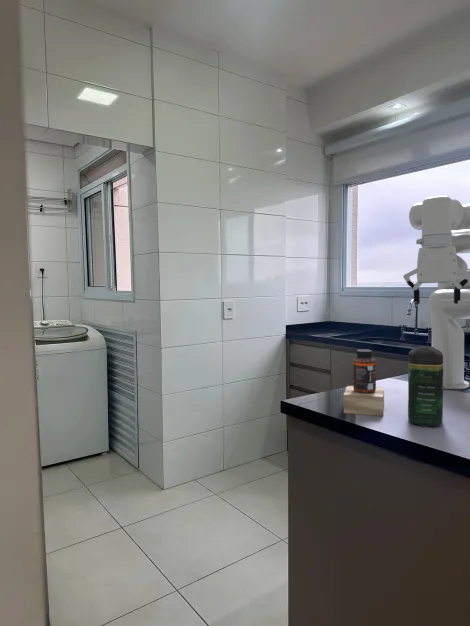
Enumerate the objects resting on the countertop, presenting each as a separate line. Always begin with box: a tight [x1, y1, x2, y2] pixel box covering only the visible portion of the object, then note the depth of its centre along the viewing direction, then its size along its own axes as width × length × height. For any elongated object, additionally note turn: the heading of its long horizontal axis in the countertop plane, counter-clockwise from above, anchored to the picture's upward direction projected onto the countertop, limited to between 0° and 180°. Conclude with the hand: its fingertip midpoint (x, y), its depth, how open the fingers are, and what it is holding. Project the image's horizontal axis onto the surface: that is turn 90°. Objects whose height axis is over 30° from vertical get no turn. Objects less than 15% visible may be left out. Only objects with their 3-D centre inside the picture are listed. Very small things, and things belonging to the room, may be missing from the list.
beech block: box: [343, 385, 385, 417], centre depth 115 cm, size 10×10×5 cm
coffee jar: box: [407, 345, 444, 428], centre depth 103 cm, size 10×8×19 cm
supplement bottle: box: [352, 348, 377, 393], centre depth 115 cm, size 6×6×11 cm
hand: (436, 303), depth 118 cm, fingers open, 9 cm apart
